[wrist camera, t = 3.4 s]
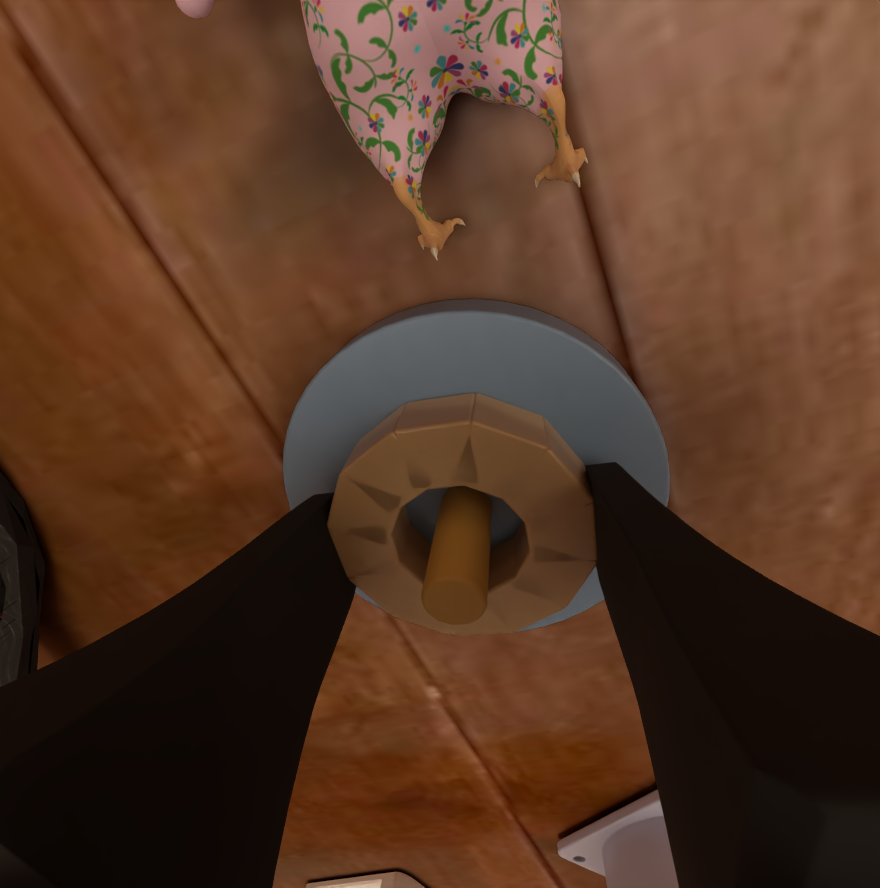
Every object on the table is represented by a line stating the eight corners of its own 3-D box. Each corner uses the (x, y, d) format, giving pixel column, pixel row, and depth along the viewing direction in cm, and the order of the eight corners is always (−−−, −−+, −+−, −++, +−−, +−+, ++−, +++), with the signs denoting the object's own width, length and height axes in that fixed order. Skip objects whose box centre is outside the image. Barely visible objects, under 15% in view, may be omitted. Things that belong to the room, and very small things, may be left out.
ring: (635, 447, 10) (653, 485, 8) (527, 616, 12) (530, 663, 11) (380, 356, 9) (361, 381, 8) (328, 550, 12) (308, 590, 11)
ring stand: (743, 435, 10) (871, 566, 7) (514, 643, 15) (518, 792, 11) (396, 209, 9) (324, 223, 5) (255, 510, 13) (161, 630, 10)
